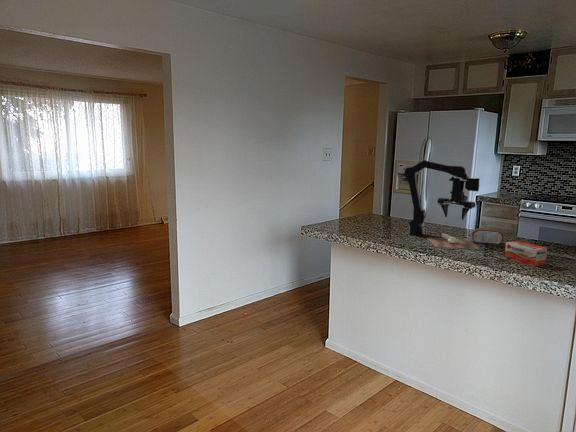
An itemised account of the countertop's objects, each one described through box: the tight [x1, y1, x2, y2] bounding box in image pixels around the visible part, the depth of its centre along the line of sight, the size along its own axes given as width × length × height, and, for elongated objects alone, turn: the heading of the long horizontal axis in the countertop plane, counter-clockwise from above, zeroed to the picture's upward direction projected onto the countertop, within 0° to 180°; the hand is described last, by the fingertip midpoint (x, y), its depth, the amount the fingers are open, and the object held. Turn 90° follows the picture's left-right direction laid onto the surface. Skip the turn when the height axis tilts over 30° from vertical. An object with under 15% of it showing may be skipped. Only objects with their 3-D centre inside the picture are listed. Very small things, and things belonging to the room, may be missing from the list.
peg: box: [439, 232, 458, 243], centre depth 219 cm, size 12×4×3 cm, turn 14°
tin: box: [471, 227, 504, 245], centre depth 218 cm, size 15×3×8 cm, turn 71°
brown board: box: [426, 237, 481, 250], centre depth 216 cm, size 22×20×1 cm
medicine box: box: [503, 240, 548, 268], centre depth 188 cm, size 15×8×8 cm, turn 26°
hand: (454, 218), depth 223 cm, fingers open, 9 cm apart
